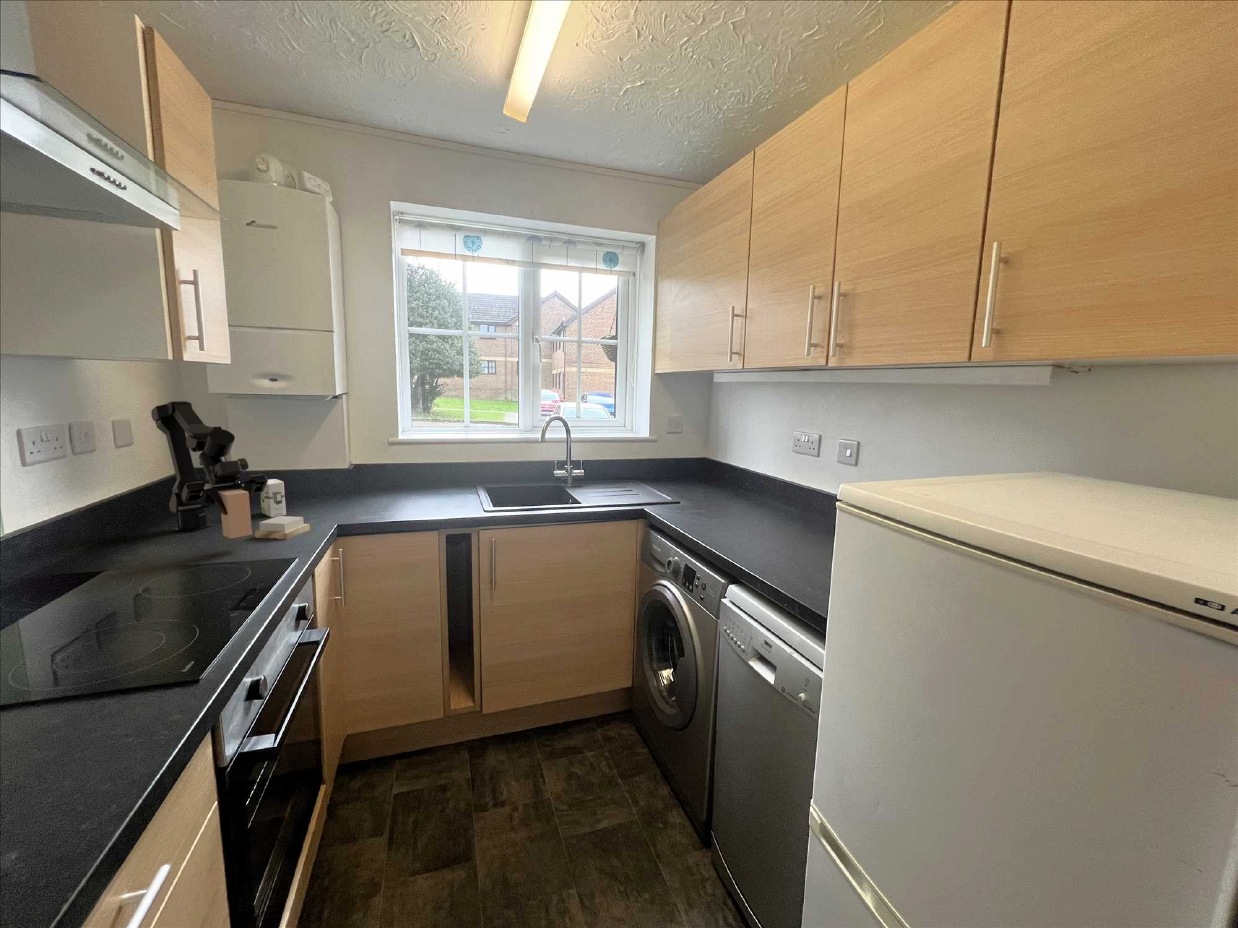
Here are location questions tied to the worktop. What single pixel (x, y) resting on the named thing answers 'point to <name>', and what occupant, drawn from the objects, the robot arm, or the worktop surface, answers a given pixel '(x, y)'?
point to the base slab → (282, 533)
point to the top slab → (281, 523)
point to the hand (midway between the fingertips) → (237, 512)
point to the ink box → (273, 498)
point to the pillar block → (236, 513)
